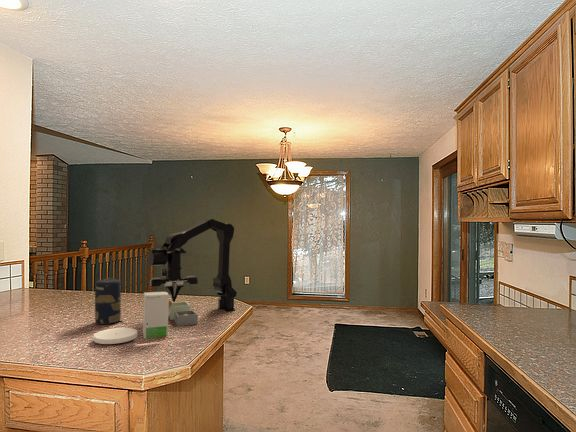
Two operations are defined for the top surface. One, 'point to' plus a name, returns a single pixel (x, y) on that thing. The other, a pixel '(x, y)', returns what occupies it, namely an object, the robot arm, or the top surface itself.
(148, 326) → the skincare box
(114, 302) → the canister
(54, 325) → the top surface
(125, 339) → the plastic lid
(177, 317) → the grey open box
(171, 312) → the pale green hollow box
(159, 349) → the top surface
